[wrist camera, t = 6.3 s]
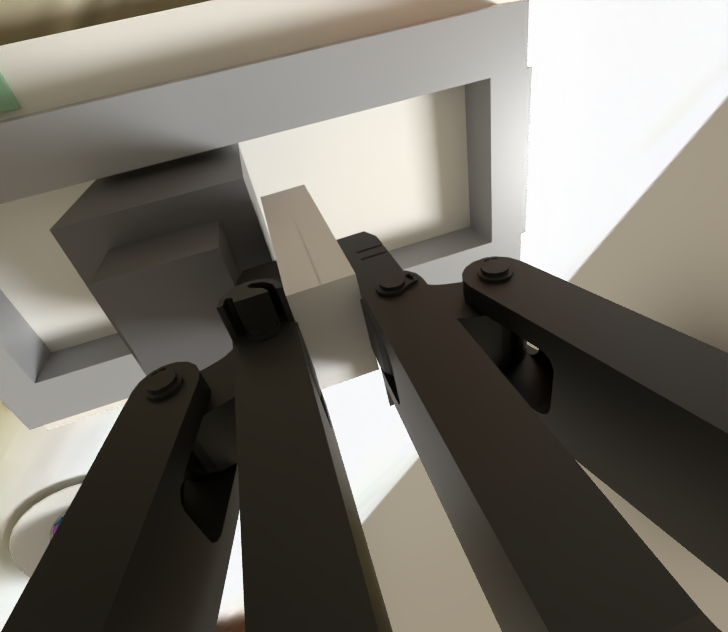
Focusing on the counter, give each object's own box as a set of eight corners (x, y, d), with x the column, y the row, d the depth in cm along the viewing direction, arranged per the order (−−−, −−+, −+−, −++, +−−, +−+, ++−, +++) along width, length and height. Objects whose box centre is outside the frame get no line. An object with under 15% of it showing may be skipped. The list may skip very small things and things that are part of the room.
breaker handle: (170, 312, 18) (147, 435, 12) (96, 178, 15) (18, 262, 9) (284, 278, 19) (311, 380, 13) (237, 142, 15) (247, 200, 10)
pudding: (176, 436, 24) (166, 520, 20) (253, 537, 31) (259, 615, 27) (-39, 517, 23) (-98, 623, 19) (91, 602, 30) (70, 694, 26)
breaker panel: (57, 407, 21) (32, 464, 18) (-218, 96, 13) (-342, 111, 10) (499, 267, 24) (536, 297, 21) (499, -58, 16) (560, -81, 13)
